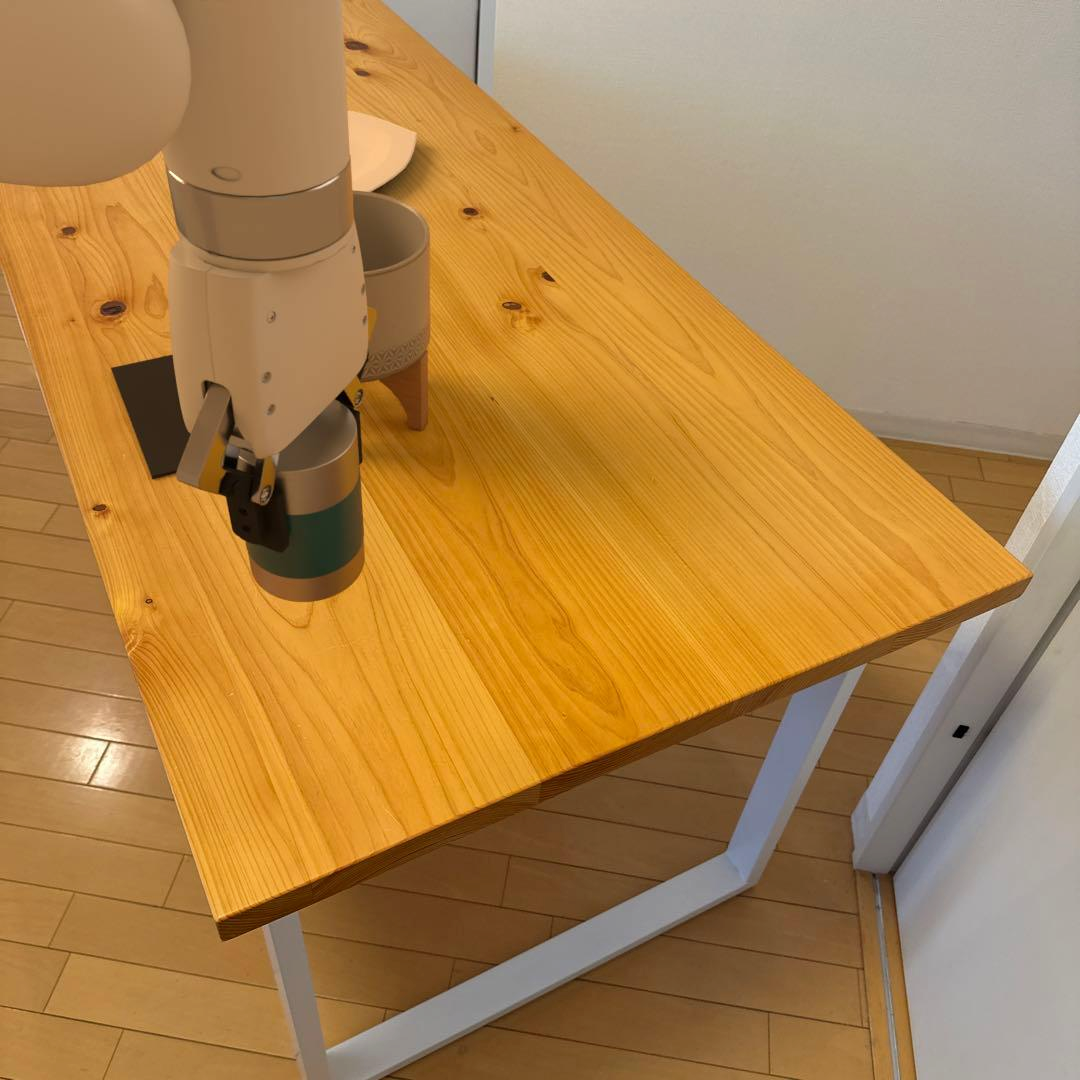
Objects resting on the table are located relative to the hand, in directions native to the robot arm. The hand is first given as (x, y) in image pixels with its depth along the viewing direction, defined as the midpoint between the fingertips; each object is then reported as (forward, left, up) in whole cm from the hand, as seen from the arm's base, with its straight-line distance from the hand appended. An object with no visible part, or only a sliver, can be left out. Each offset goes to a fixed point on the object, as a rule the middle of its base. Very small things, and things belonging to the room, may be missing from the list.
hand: (300, 496), depth 56 cm
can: (0, 0, -5) cm, 5 cm away
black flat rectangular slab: (-28, +21, -19) cm, 40 cm away
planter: (-14, +29, -19) cm, 37 cm away
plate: (-42, +68, -19) cm, 82 cm away
